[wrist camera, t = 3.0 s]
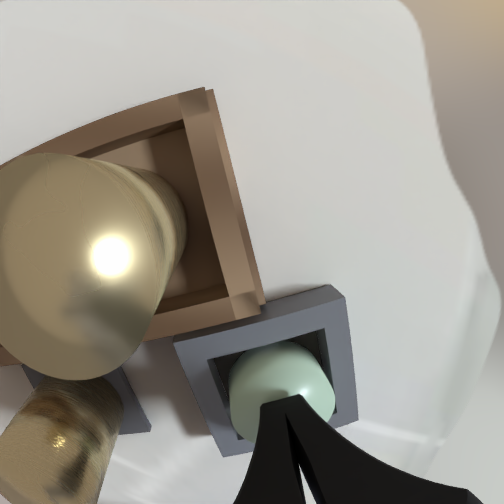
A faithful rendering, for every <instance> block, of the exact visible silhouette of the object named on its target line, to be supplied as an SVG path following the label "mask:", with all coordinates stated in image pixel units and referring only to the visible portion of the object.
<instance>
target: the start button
mask: <svg viewBox="0 0 504 504" xmlns="http://www.w3.org/2000/svg"><path fill="white" fill-rule="evenodd" d="M228 385H229V398H230V410H231V420H232V424H233V426H234V428H235V430H236V431H237V432H238V433H239V434H240V435H241V436H242V437H243V438H244V439H246V440H247V441H249V442H251V443H254V444H255V443H256V438H257V433H258V427H259V419H260V406H261V405H262V404H263V403H267V402H271V401H275V400H279V399H282V398H286V397H289V396H293V395H296V394H300V395H303V397H304V398H305V400H306V401H307V402H308V404H309V405H310V406H311V407H312V408H313V409H314V410H315V411H316V413H317V414H318V415H319V416H320V417H321V418H322V419H323V420H324V421H326V422H328V421H329V419H330V418H331V416H332V413H333V411H334V407H335V394H334V391H333V389H332V387H331V385H330V383H329V381H328V379H327V378H326V376H325V374H324V372H323V370H322V369H321V367H320V365H319V363H318V361H317V360H316V358H315V357H314V355H313V354H312V353H311V352H310V351H309V350H308V349H307V348H305V347H303V346H302V345H299V344H297V343H294V342H290V341H278V342H275V343H271V344H267V345H263V346H260V347H256V348H252V349H249V350H247V351H246V352H245V353H243V354H242V355H241V356H240V357H239V358H238V359H237V361H236V362H235V363H234V365H233V367H232V368H231V371H230V374H229V380H228Z"/></svg>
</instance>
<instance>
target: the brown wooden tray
mask: <svg viewBox="0 0 504 504" xmlns="http://www.w3.org/2000/svg"><path fill="white" fill-rule="evenodd" d="M36 153H57V154H64V155H70V156H76V157H82V158H88V159H94V160H99V161H105V162H110V163H116V164H121V165H126V166H131V167H137V168H142V169H146V170H149V171H152V172H154V173H156V174H158V175H160V176H162V177H163V178H165V179H166V180H167V181H168V182H169V183H170V184H171V185H172V186H173V187H174V188H175V189H176V190H177V192H178V194H179V195H180V197H181V199H182V201H183V203H184V205H185V208H186V211H187V216H188V225H189V230H188V239H187V243H186V246H185V250H184V252H183V254H182V256H181V258H180V260H179V262H178V264H177V266H176V268H175V271H174V273H173V275H172V277H171V279H170V281H169V283H168V285H167V287H166V290H165V292H164V294H163V296H162V298H161V300H160V302H159V305H158V307H157V309H156V311H155V313H154V316H153V318H152V320H151V322H150V324H149V327H148V329H147V331H146V333H145V336H144V338H143V340H142V341H141V342H145V341H149V340H154V339H159V338H163V337H168V336H172V335H177V334H181V333H185V332H190V331H194V330H198V329H202V328H206V327H211V326H215V325H219V324H223V323H227V322H231V321H235V320H239V319H242V318H246V317H250V316H254V315H258V314H261V311H260V307H259V306H260V305H263V304H266V301H265V296H264V292H263V288H262V284H261V280H260V276H259V272H258V268H257V264H256V260H255V256H254V252H253V248H252V244H251V240H250V236H249V232H248V228H247V224H246V220H245V216H244V212H243V208H242V204H241V200H240V196H239V192H238V188H237V184H236V180H235V176H234V172H233V167H232V163H231V159H230V155H229V151H228V147H227V143H226V139H225V135H224V131H223V127H222V123H221V119H220V115H219V111H218V107H217V103H216V99H215V95H214V91H213V89H210V90H206V91H205V87H202V88H198V89H194V90H190V91H186V92H182V93H179V94H175V95H171V96H168V97H164V98H161V99H158V100H154V101H151V102H148V103H145V104H142V105H139V106H136V107H133V108H130V109H127V110H124V111H121V112H118V113H115V114H113V115H110V116H107V117H104V118H102V119H99V120H97V121H94V122H92V123H89V124H86V125H84V126H82V127H79V128H77V129H74V130H72V131H70V132H67V133H65V134H63V135H61V136H58V137H56V138H54V139H52V140H50V141H47V142H45V143H43V144H41V145H39V146H37V147H35V148H33V149H31V150H29V151H27V152H25V153H23V154H21V155H19V156H17V157H15V158H13V159H11V160H10V161H8V162H6V163H4V164H2V165H0V170H1V169H2V168H3V167H5V166H6V165H8V164H9V163H11V162H13V161H15V160H17V159H19V158H22V157H24V156H28V155H32V154H36ZM21 363H22V362H21V361H19V360H18V359H17V358H15V357H14V356H13V355H12V354H10V353H9V352H8V351H7V350H6V349H5V348H4V347H3V346H2V345H1V344H0V366H6V365H14V364H21Z"/></svg>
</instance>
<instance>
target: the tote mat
mask: <svg viewBox="0 0 504 504" xmlns="http://www.w3.org/2000/svg"><path fill="white" fill-rule="evenodd" d="M21 366H22V367H23V369H24V371H25V373H26V375H27V377H28V379H29V381H30V382H31V384H32V386H33V388H34V389H35V388H36V387H37V385H38V384H39V383H40V381H41V380H42V379H43V378H44V376H45V374H42V373H40V372H38V371H36V370H34V369H32V368H30V367H28V366H27V365H25V364H24V363H23V364H22V365H21ZM102 377H104V378H105V379H106V380H107V381H108V382H109V383H110V384H111V385H112V386H113V387H114V388H115V390H116V391H117V393H118V394H119V396H120V398H121V400H122V403H123V406H124V418H123V421H122V424H121V427H120V430H119V433H118V435H122V434H133V433H142V432H150V430H151V424H150V423H149V421H148V419H147V417H146V415H145V414H144V412H143V410H142V408H141V406H140V404H139V402H138V401H137V399H136V397H135V395H134V393H133V391H132V389H131V387H130V385H129V383H128V381H127V379H126V377H125V375H124V373H123V370H122V368H121V366H119V367H118V368H116V369H115V370H113V371H111V372H109V373H107V374H105V375H102Z"/></svg>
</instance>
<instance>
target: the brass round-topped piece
mask: <svg viewBox="0 0 504 504" xmlns="http://www.w3.org/2000/svg"><path fill="white" fill-rule="evenodd" d="M188 230H189V225H188V216H187V211H186V208H185V205H184V203H183V201H182V199H181V197H180V195H179V194H178V192H177V190H176V189H175V188H174V187H173V186H172V185H171V184H170V183H169V182H168V181H167V180H166V179H165V178H163V177H162V176H160V175H158V174H156V173H154V172H152V171H149V170H146V169H142V168H137V167H131V166H126V165H121V164H116V163H110V162H105V161H99V160H94V159H88V158H82V157H76V156H70V155H64V154H57V153H36V154H32V155H28V156H24V157H22V158H19V159H17V160H15V161H13V162H11V163H9V164H8V165H6V166H5V167H3V168H2V169H1V170H0V344H1V345H2V346H3V347H4V348H5V349H6V350H7V351H8V352H9V353H10V354H12V355H13V356H14V357H15V358H17V359H18V360H19V361H21V362H22V363H24V364H25V365H27V366H28V367H30V368H32V369H34V370H36V371H38V372H40V373H42V374H45V375H48V376H51V377H55V378H59V379H65V380H87V379H92V378H96V377H100V376H102V375H105V374H107V373H109V372H111V371H113V370H115V369H116V368H118V367H119V366H121V365H122V364H123V363H124V362H125V361H127V360H128V359H129V358H130V356H131V355H132V354H133V353H134V352H135V351H136V349H137V348H138V346H139V345H140V343H141V341H142V340H143V338H144V336H145V333H146V331H147V329H148V327H149V324H150V322H151V320H152V318H153V316H154V313H155V311H156V309H157V307H158V305H159V302H160V300H161V298H162V296H163V294H164V292H165V290H166V287H167V285H168V283H169V281H170V279H171V277H172V275H173V273H174V271H175V268H176V266H177V264H178V262H179V260H180V258H181V256H182V254H183V252H184V250H185V246H186V243H187V239H188Z"/></svg>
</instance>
